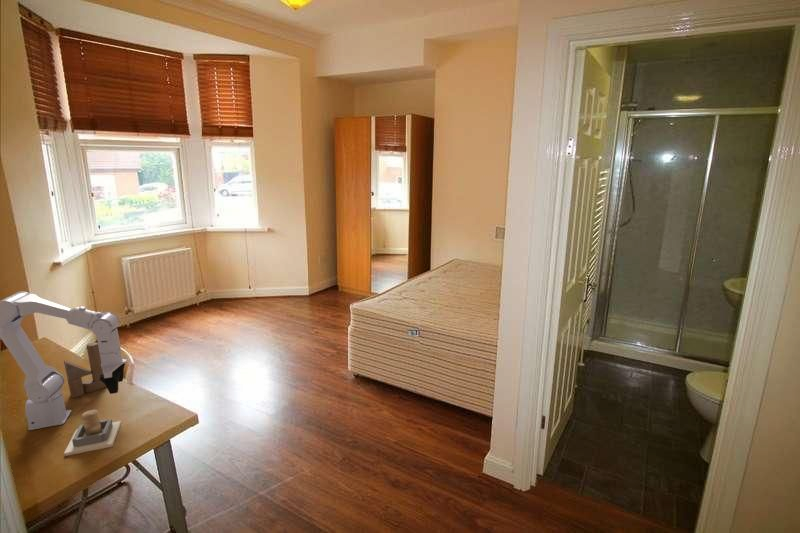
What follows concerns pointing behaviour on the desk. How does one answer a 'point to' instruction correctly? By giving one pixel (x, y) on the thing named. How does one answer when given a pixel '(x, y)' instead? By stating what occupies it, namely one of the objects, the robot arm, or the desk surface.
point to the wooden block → (85, 373)
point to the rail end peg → (91, 422)
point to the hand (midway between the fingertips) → (116, 387)
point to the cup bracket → (93, 438)
